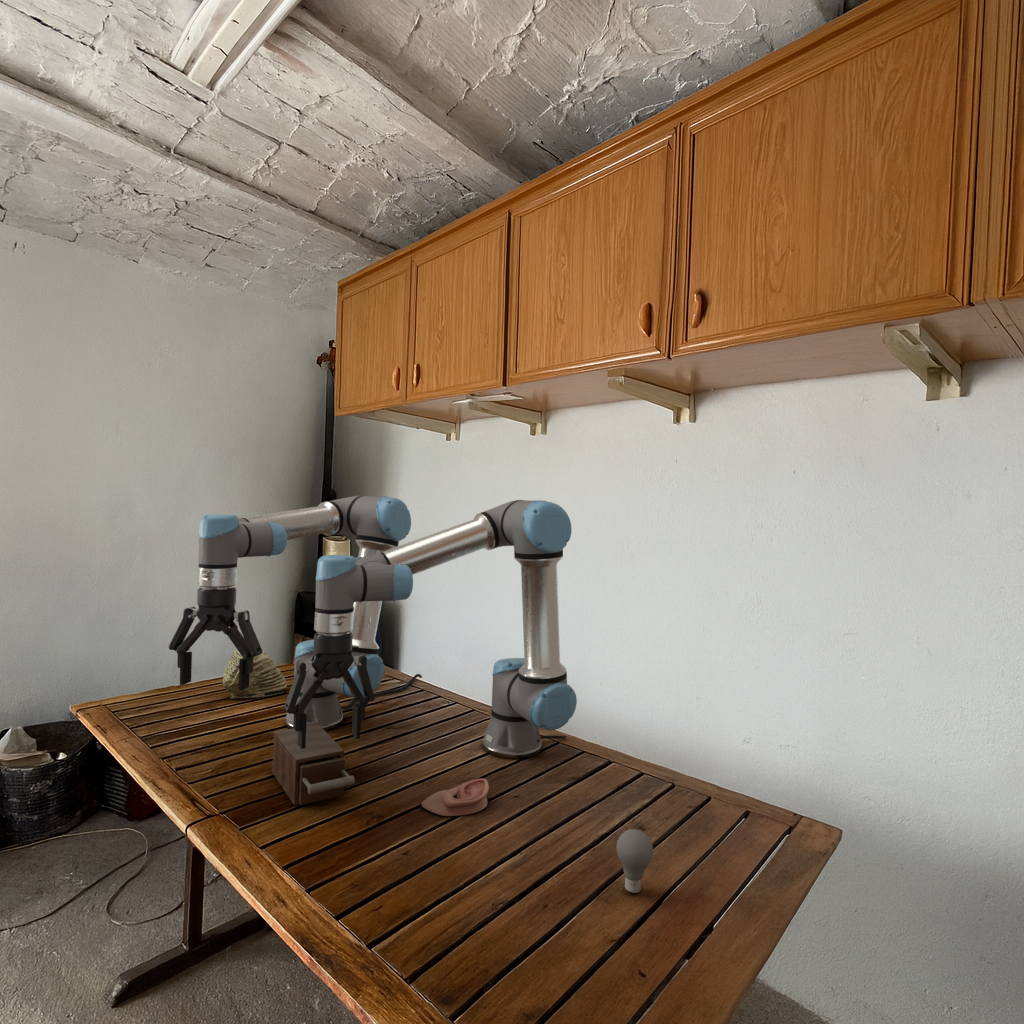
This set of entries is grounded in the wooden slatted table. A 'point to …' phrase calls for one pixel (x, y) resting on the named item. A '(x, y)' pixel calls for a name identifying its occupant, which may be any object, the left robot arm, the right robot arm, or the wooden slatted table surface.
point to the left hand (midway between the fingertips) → (214, 686)
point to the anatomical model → (459, 799)
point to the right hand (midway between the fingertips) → (329, 741)
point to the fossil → (254, 677)
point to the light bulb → (634, 857)
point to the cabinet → (299, 755)
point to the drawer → (322, 779)
